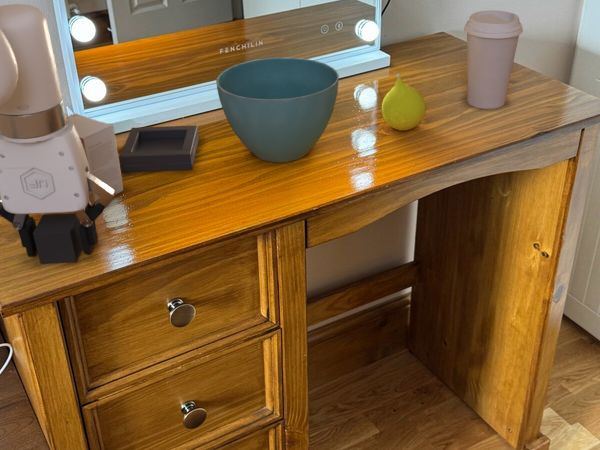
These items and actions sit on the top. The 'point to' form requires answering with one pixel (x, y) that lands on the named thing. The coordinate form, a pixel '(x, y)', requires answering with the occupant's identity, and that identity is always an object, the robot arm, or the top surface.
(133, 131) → the small dark tray
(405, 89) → the ornament
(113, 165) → the small box
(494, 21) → the coffee cup
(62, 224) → the black cube
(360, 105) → the top surface
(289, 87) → the teal bowl
